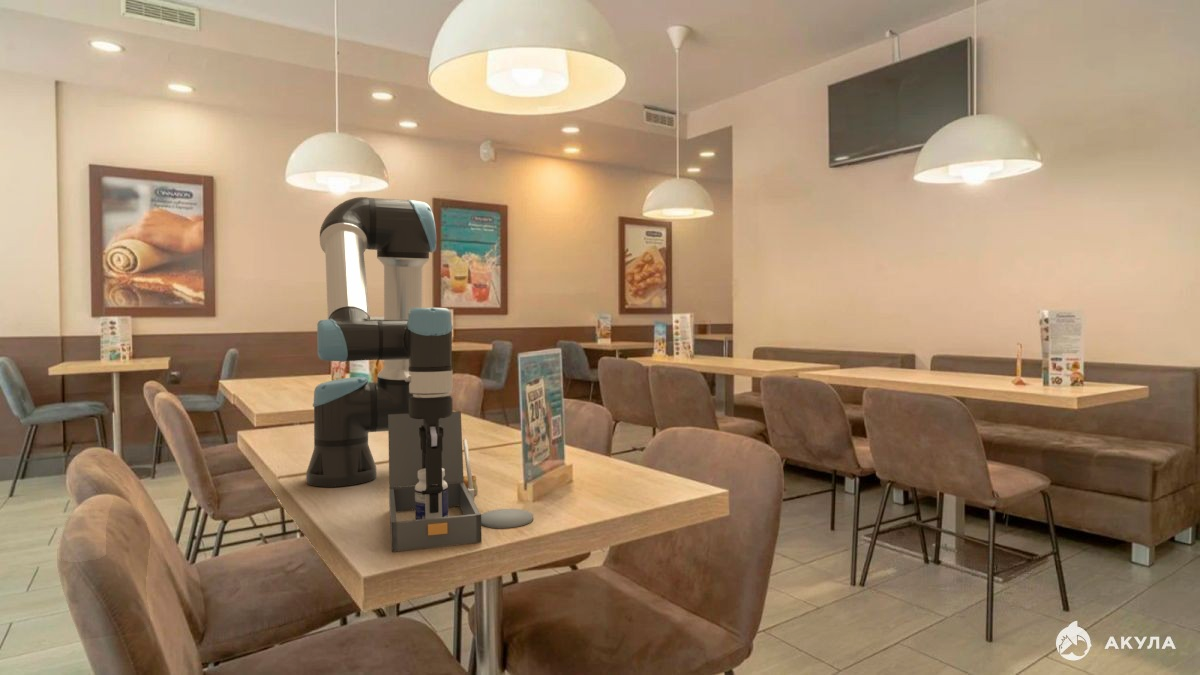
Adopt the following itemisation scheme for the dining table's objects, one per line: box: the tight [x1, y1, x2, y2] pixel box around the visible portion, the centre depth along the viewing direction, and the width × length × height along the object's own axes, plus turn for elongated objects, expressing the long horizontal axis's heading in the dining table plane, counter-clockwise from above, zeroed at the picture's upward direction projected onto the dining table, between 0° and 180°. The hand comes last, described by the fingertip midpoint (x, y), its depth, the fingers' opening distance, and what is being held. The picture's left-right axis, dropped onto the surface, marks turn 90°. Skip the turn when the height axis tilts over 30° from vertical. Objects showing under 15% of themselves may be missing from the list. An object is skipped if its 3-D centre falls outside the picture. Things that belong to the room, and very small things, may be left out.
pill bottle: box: [414, 468, 449, 520], centre depth 118 cm, size 6×6×10 cm
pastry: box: [455, 474, 478, 496], centre depth 140 cm, size 9×7×4 cm
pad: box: [481, 508, 534, 529], centre depth 121 cm, size 10×10×1 cm
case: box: [387, 410, 482, 553], centre depth 119 cm, size 29×15×18 cm, turn 19°
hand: (432, 524), depth 118 cm, fingers open, 6 cm apart
